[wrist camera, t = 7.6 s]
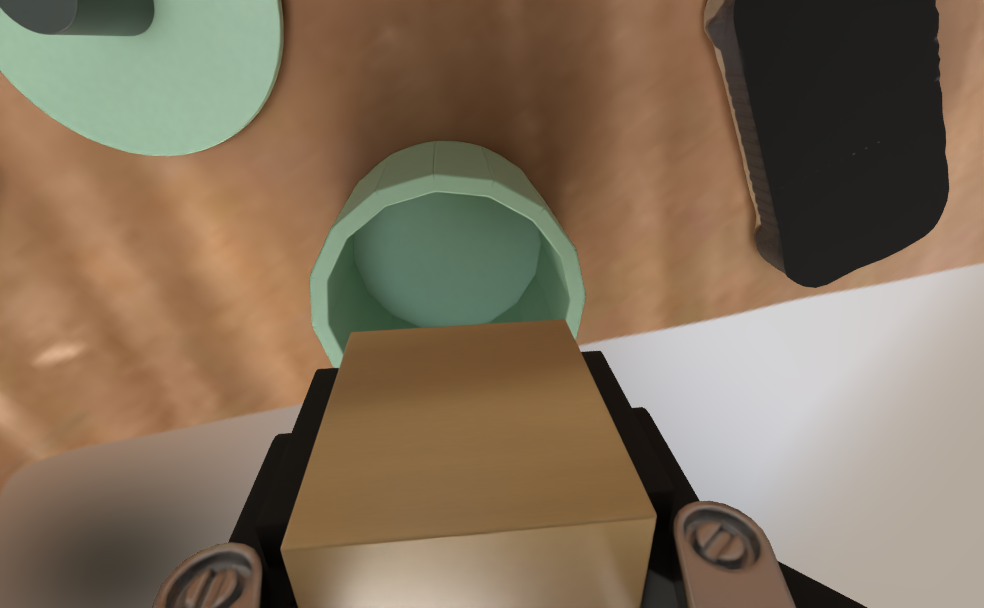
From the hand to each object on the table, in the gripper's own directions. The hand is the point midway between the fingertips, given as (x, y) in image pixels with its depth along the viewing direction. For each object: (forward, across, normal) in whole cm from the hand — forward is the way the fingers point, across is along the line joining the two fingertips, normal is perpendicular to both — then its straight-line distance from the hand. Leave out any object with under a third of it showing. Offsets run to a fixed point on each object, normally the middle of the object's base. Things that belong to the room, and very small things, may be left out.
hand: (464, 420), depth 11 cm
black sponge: (+18, -18, -4) cm, 26 cm away
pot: (+18, 0, +2) cm, 18 cm away
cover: (+17, +13, -9) cm, 23 cm away
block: (0, 0, 0) cm, 0 cm away
